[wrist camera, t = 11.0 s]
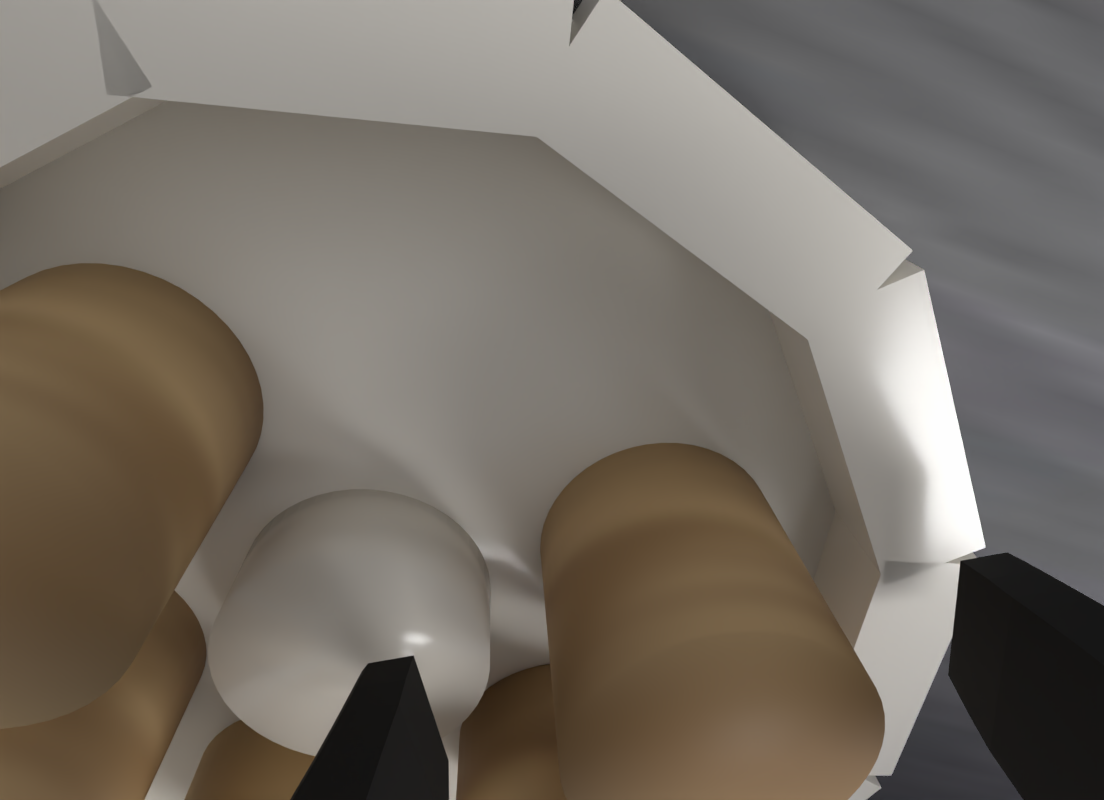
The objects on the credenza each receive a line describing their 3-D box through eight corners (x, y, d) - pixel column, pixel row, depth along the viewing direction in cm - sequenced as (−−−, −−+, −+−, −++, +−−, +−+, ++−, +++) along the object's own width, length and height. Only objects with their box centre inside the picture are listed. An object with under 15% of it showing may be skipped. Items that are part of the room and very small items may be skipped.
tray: (762, 886, 18) (796, 993, 16) (-59, 893, 16) (-139, 1017, 14) (1064, 49, 10) (1207, 52, 8) (-487, -137, 8) (-811, -194, 6)
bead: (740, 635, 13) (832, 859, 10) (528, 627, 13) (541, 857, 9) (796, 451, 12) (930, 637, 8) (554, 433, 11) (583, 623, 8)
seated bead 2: (216, 723, 13) (113, 978, 10) (-12, 721, 13) (-207, 984, 9) (193, 552, 12) (59, 781, 8) (-68, 542, 11) (-333, 780, 8)
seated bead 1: (271, 514, 11) (169, 732, 8) (7, 502, 11) (-228, 727, 7) (254, 275, 10) (114, 410, 6) (-58, 251, 9) (-400, 383, 6)
